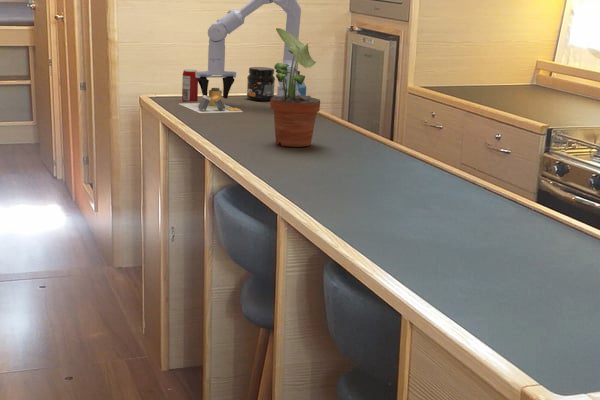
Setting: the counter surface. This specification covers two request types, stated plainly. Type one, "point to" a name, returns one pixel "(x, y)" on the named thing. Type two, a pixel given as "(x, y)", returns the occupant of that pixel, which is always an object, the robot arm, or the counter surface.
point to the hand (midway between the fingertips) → (215, 98)
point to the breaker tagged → (218, 103)
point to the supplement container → (260, 84)
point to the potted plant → (294, 99)
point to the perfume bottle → (301, 87)
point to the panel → (210, 108)
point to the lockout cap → (212, 93)
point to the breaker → (204, 103)
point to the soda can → (189, 86)
